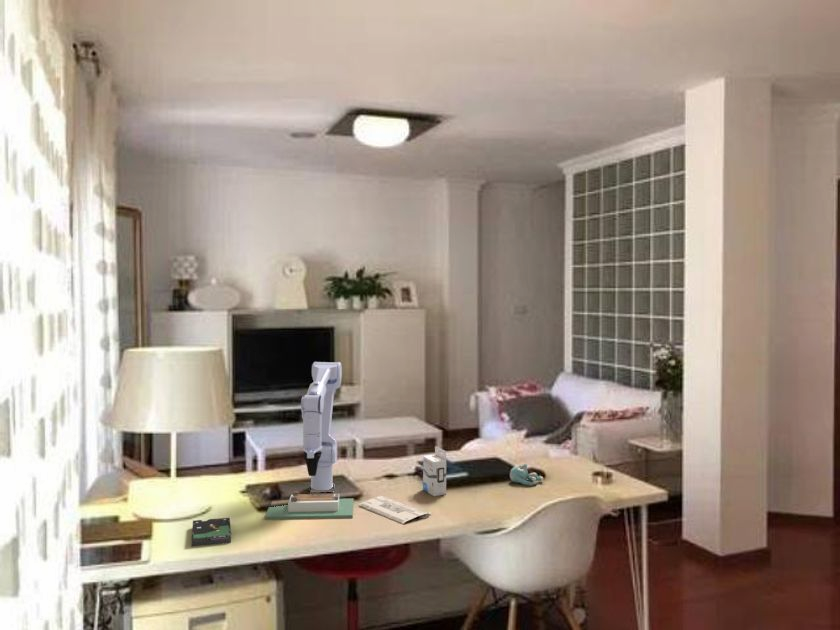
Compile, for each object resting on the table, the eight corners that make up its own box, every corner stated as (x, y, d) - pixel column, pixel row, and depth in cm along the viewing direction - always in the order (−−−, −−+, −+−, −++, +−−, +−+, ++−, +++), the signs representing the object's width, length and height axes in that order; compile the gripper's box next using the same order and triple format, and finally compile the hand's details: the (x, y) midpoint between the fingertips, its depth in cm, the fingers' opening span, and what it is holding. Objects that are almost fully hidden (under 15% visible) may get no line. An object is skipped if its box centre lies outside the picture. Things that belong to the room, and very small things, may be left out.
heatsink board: (272, 502, 220) (272, 487, 219) (353, 500, 222) (353, 486, 221) (264, 519, 204) (264, 503, 203) (352, 517, 206) (352, 501, 205)
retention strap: (295, 496, 214) (295, 494, 214) (334, 495, 215) (334, 493, 215) (294, 500, 210) (294, 498, 210) (333, 499, 211) (333, 497, 211)
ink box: (422, 489, 234) (422, 447, 234) (435, 487, 236) (435, 445, 236) (433, 496, 227) (433, 452, 226) (446, 494, 229) (447, 451, 228)
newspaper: (434, 517, 208) (433, 509, 208) (403, 530, 200) (403, 522, 200) (387, 499, 225) (386, 491, 225) (357, 510, 217) (356, 503, 217)
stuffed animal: (548, 472, 238) (514, 465, 238) (543, 492, 238) (510, 485, 238) (543, 463, 249) (510, 457, 249) (539, 483, 249) (506, 476, 249)
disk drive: (192, 530, 196) (191, 548, 182) (192, 520, 196) (191, 538, 182) (229, 526, 199) (231, 544, 185) (229, 516, 199) (231, 534, 185)
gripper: (301, 428, 223) (301, 469, 224) (297, 438, 209) (297, 482, 210) (323, 427, 224) (323, 468, 225) (320, 437, 209) (320, 481, 210)
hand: (312, 475), depth 217 cm, fingers closed
